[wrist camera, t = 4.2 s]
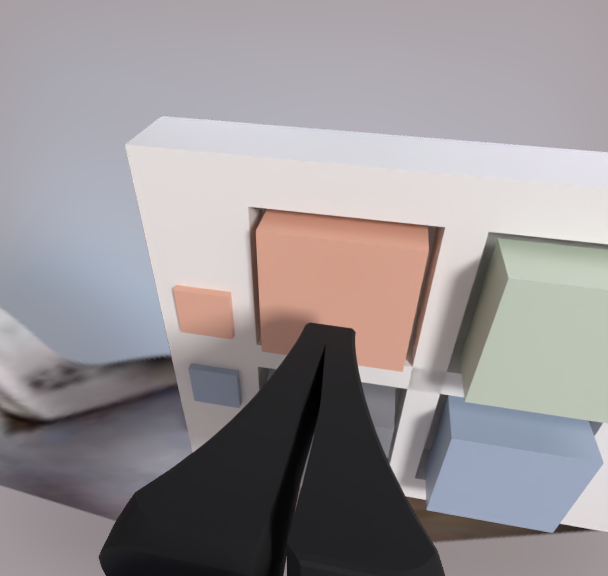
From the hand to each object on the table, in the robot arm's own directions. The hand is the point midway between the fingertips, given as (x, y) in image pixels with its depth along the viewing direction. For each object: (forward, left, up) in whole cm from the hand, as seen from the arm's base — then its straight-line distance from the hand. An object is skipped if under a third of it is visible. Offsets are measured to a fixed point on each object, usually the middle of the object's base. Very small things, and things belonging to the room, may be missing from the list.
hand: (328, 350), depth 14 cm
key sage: (-7, 0, -3) cm, 8 cm away
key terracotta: (0, 0, -4) cm, 4 cm away
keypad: (-3, +3, -5) cm, 7 cm away
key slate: (-7, +7, -3) cm, 10 cm away
